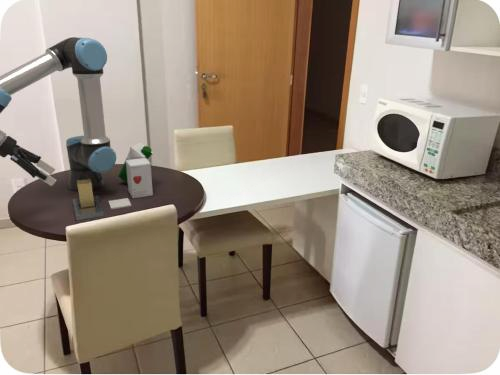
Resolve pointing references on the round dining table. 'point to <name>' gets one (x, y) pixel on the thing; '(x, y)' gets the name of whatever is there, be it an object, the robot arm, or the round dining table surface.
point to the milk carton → (135, 157)
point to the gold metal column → (85, 193)
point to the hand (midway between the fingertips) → (53, 177)
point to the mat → (119, 203)
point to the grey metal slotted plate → (88, 209)
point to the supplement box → (139, 177)
